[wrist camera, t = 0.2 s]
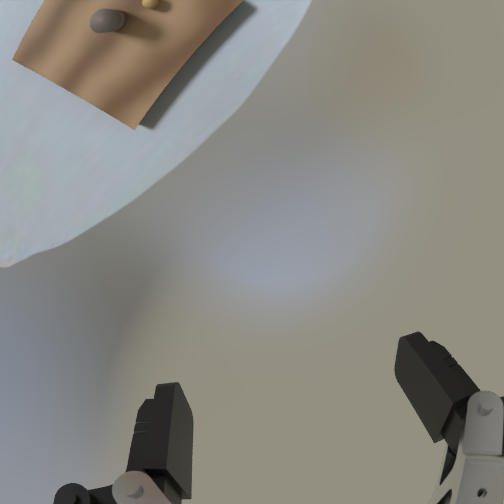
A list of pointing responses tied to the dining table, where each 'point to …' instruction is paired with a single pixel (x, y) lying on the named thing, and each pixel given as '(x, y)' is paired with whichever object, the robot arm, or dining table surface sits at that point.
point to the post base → (118, 47)
